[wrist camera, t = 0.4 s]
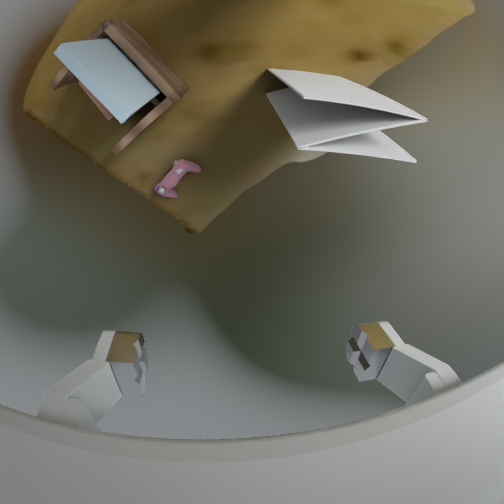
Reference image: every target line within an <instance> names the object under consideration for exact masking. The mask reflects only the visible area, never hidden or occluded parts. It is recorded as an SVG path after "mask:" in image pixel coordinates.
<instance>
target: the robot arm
mask: <svg viewBox="0 0 504 504" xmlns="http://www.w3.org/2000/svg"><path fill="white" fill-rule="evenodd" d="M351 334H352V336H353V337H352V338H351V339H350V340H349V341H348V343H347V346H346V355H347V359H348V361H349V363H351V364H353V365H354V366H355V367H354V372H355V374H356V376H357V378H358V380H359V381H360V382H361V381H366V380H371V379H376V378H377V380H378V381H379V382H381V383H382V384H383V385H385V386H386V387H387V388H389V389H390V390H391V391H393V392H394V393H395V394H396V395H398V396H399V397H400V398H402V399H403V400H404V401H406V402H407V403H406V405H405V406H404V407H401V408H398V409H395V410H391V411H388V412H385V413H382V414H378V415H375V416H371V417H367V418H364V419H360V420H356V421H352V422H348V423H343V424H339V425H334V426H330V427H324V428H319V429H314V430H308V431H302V432H296V433H288V434H280V435H272V436H263V437H251V438H235V439H205V440H204V439H203V440H202V439H167V438H152V437H141V436H131V435H122V434H116V433H109V432H103V431H101V430H100V428H99V427H98V425H97V423H98V422H99V421H100V420H101V419H102V418H103V417H104V415H105V414H106V413H107V412H108V411H109V410H110V409H111V408H112V407H113V405H114V404H115V403H116V402H117V401H118V400H119V399H120V398H121V396H122V394H123V395H139V396H140V395H141V396H143V395H144V390H145V383H146V381H145V378H144V376H145V374H147V371H148V354H147V349H146V348H144V347H143V346H144V341H145V340H144V336H143V334H142V333H137V332H124V331H109V330H104V331H103V332H102V334H101V337H100V339H99V342H98V344H97V347H96V350H95V352H94V355H93V358H92V360H87V361H86V362H84V363H83V364H82V365H80V366H79V367H78V368H76V369H75V370H74V371H72V372H71V373H70V374H68V375H67V376H66V377H64V378H63V379H62V380H60V381H59V382H58V383H56V384H55V385H53V386H52V387H51V388H49V389H48V390H47V391H46V393H45V395H44V398H43V400H42V403H41V406H40V408H39V411H38V414H37V416H34V415H31V414H27V413H24V412H21V411H18V410H15V409H12V408H10V407H7V406H4V405H1V404H0V504H504V362H502V363H501V364H499V365H497V366H495V367H493V368H491V369H490V370H488V371H486V372H484V373H482V374H481V375H478V376H476V377H474V378H472V379H470V380H468V381H466V382H464V383H462V382H461V381H460V379H459V378H458V377H457V375H456V374H455V373H454V371H453V370H452V369H451V367H450V366H449V365H447V364H445V363H443V362H441V361H440V360H437V359H436V358H434V357H432V356H430V355H428V354H426V353H424V352H422V351H420V350H418V349H416V348H414V347H412V346H411V345H409V344H406V345H405V344H404V342H403V341H402V340H401V338H400V337H399V336H398V334H397V333H396V332H395V331H394V329H393V328H392V327H391V325H390V324H389V323H388V322H386V321H382V322H376V323H369V324H361V325H355V326H354V327H353V329H352V331H351Z"/></svg>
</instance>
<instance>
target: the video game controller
mask: <svg viewBox="0 0 504 504" xmlns="http://www.w3.org/2000/svg"><path fill="white" fill-rule="evenodd" d="M186 172H196V173H199V172H201V167H200V166H199V165H198V164H196V163H194V162H192V161H187V160H184V159H181V160H180V161H175V162H174V166H173V167H172V169H171V171H170V172H169V173H168V174H167V175H166V176H165V177H164V178H163V180H162V181H161V182H159V183H158V184H157V185H156V187H155V190H156V192H157V193H158V194H160V195H161V196H165V197H170V198H176V197H177V196H178V194H177V192H176V191H175V190H174V189H172V188H173V187H175V186H176V185H177V184H178V182H179V180H180V179H181V178H182V177H183V175H184V174H185V173H186Z"/></svg>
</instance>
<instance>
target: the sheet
mask: <svg viewBox="0 0 504 504" xmlns="http://www.w3.org/2000/svg"><path fill="white" fill-rule="evenodd" d="M54 54H55V55H56V56H57V57H58V58H59V60H60V61H61V62H62V63H63V64H64V65H65V66H66V67H67V68H68V69H69V70H70V71H71V72H72V73H73V74H74V75H75V76H76V77H77V78H78V79H79V80H80V81H81V82H82V83H83V84H84V85H85V87H86V88H87V89H88V90H89V91H90V92H91V93H92V94H93V95H94V96H95V97H96V98H97V99H98V100H99V101H100V102H101V103H102V104H103V105H104V106H105V107H106V108H107V109H108V110H109V111H110V112H111V113H112V114H113V116H114V117H115V118H116V119H117V120H118V121H119V122H120V123H121V124H122V123H123V122H124V121H126V120H127V119H128V118H129V117H130V116H132V115H133V114H134V113H135V112H136V111H138V110H139V109H140V108H141V107H143V106H144V105H145V104H146V103H148V102H149V101H150V100H152V99H153V98H154V97H156V96H157V95H158V94H160V93H161V92H162V91H161V90H160V89H159V88H158V87H157V86H156V85H155V84H154V83H153V82H152V80H151V79H150V78H149V77H148V76H147V75H146V74H145V73H144V72H143V71H142V70H141V69H140V68H139V67H138V66H137V65H136V63H135V62H134V61H133V60H132V59H131V58H130V57H129V56H128V55H127V54H126V53H125V52H124V51H123V50H122V49H121V48H120V47H119V46H118V45H117V44H116V43H115V42H114V41H113V40H112V39H96V40H85V41H76V42H68V43H61V45H60V46H59V47H58V48H57V50H56V51H55V52H54Z"/></svg>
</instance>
